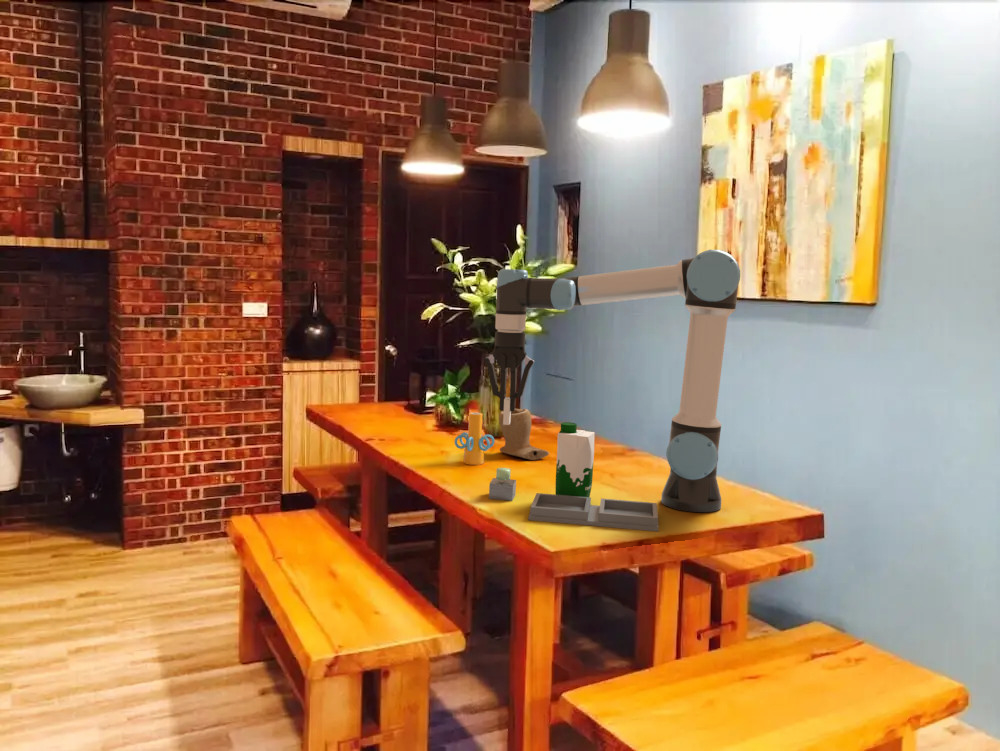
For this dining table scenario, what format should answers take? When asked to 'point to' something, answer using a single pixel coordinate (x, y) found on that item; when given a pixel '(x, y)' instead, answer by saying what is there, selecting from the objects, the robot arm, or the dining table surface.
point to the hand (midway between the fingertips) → (506, 423)
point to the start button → (503, 474)
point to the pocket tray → (594, 512)
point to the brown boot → (519, 436)
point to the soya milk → (574, 461)
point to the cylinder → (474, 441)
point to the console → (502, 489)
